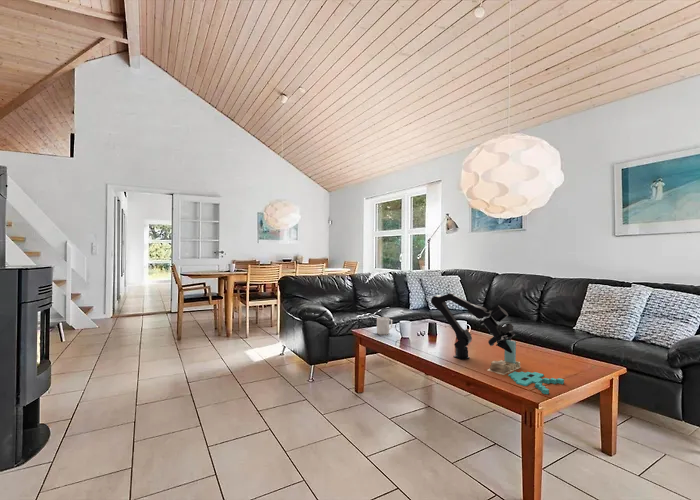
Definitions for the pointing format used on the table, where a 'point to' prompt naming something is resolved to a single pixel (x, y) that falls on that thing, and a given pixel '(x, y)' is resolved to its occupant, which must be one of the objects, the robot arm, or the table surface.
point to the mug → (383, 325)
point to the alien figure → (534, 380)
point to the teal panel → (510, 356)
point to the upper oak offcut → (498, 364)
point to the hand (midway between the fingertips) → (512, 352)
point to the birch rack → (509, 367)
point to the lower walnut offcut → (499, 369)
